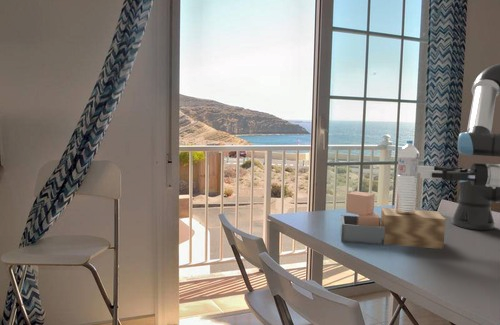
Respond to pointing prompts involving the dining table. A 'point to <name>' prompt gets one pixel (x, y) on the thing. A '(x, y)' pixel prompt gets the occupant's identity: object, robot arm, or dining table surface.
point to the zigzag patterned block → (413, 228)
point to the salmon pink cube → (360, 203)
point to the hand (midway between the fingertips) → (417, 171)
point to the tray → (360, 232)
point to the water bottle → (407, 179)
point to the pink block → (368, 220)
